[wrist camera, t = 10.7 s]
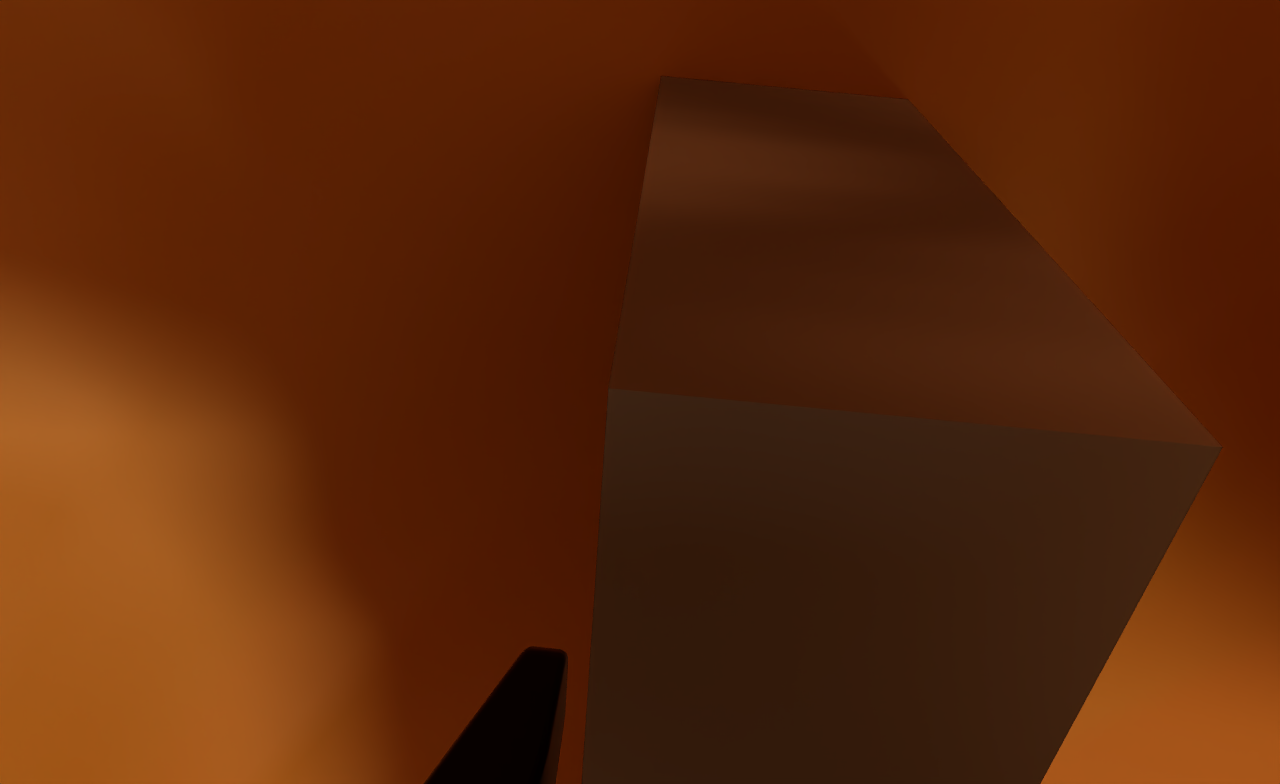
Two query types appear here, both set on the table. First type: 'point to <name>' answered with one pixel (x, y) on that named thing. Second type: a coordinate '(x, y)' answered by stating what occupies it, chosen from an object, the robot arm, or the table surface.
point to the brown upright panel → (859, 462)
